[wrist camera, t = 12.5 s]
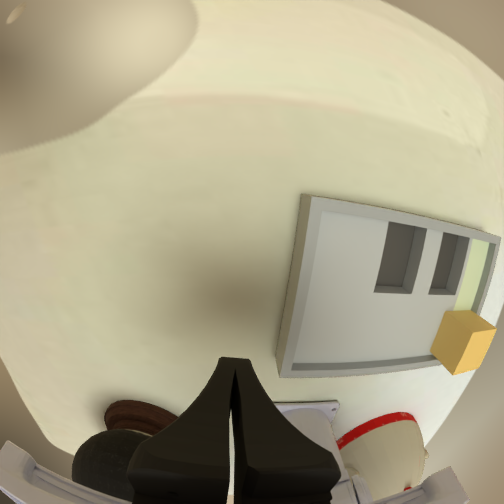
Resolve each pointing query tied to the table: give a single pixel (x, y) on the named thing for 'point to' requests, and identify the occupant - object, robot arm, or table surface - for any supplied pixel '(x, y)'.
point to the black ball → (117, 447)
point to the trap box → (375, 288)
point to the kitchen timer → (385, 454)
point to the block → (462, 341)
